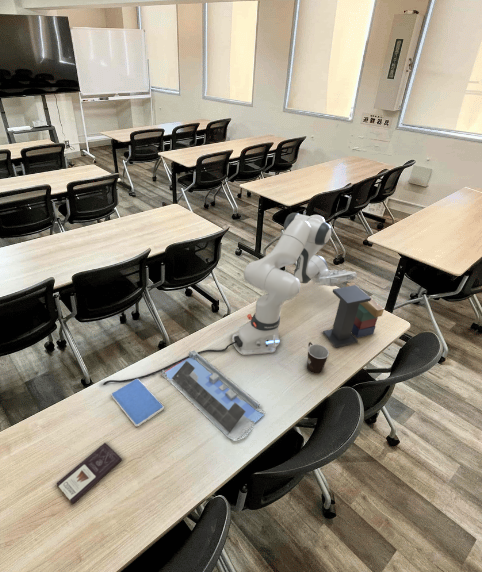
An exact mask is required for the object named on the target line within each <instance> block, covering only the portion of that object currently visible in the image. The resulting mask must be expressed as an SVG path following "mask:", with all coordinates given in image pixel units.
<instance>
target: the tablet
mask: <svg viewBox="0 0 482 572" xmlns="http://www.w3.org/2000/svg"><path fill="white" fill-rule="evenodd" d="M110 397H111V398H112V400H113V401H115V403H116V404H117V405H118V407H119V408H120V409H121V410H122V411H123V413H124V414H125V415H126V417H127V418H128V419H129V420H130V422H131V423H132V424H133V425H134V426H135V427H136V428H137V427H140V426H141V425H144V424H145V423H146V422H148V421H149V420H151V419H153V417H155V416H157V415H158V414H159V413H161V411H163V410H164V409H165V406H164V405H163V403H161V402H160V400H159V399H158V398H157V397H156V396H155V395H154V394H153V393H152V392H151V390H150V389H149V388H148V387H147V385H145V384H144V383H143V382H142V381H141V380H140V379H135V380H132V381H129V382H128V383H126V384H125V385H123V386H122V387H120V388H118V389H116V390H114V391H113V392H111V394H110Z"/></svg>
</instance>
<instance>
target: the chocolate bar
mask: <svg viewBox="0 0 482 572" xmlns="http://www.w3.org/2000/svg"><path fill="white" fill-rule="evenodd" d="M122 461H123V458H121V456H120V455H118V454H117V452H116V451H114V450H113V449H112V447H111V446H110V445H108V444H107V443H106V442H104V443H103V444H102V445H100V446H99V447H98V448H97V449H96V450H94V451H93V452H92V453H91V454H90V455H88V456H87V457H86V458H85V459H84V460H83V461H81V462H80V463H78V465H76V466H75V467H74V468H73V469H71V470H70V471H69V472H68V473H67V474H66V475H65V476H63V477H61V479H59V480H58V481H57V482H56V486H57V487H58V488H59V489H60V490H61V493H63V494H64V495H65V497H66V498H67V499H68V501H70V503H71V504H72V505H75V503H77V502H78V501H79V500H80V499H81V498H82V497H83V496H84V495H85V494H86V493H88V492H89V491H90V490H91V489H92V488H93V487H95V485H96V484H98V483H99V482H100V481H101V480H102V479H103V478H104V477H105V476H106V475H107V474H108V473H110V472H111V471H112V470H114V468H116V467H117V466H118V465H119V464H120V463H121V462H122Z"/></svg>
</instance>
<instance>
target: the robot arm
mask: <svg viewBox="0 0 482 572" xmlns="http://www.w3.org/2000/svg"><path fill="white" fill-rule="evenodd" d="M283 229H284V231H283V233H282V234H281V236H280V237H279V239H278V241H277V242H276V244H275V245H274V247H273V249H271V251H270V252H269V253H268V254H266V255H265V256H264V257H262V258H260V259H257V260H253V261H251V262H249V263H247V265H245V268H244V270H243V279H244V281H245V282H246V283H248V285H250V286H252V287H254V288H255V289H258V290H261V291H263V292H265V293H267V294H263V295H261V296H259V297H258V298H257V299H256V302H255V309H254V310H255V311H254V314H253V315H252V314H251V313H248V314H247V315H246V318H247V319H248V320H249V321H247V322H246V323H245V324H243V325H242V326H240V327H239V328H238V330H237V332H236V333H234V334H232V336H231V343H229V344H228V345H227V346H225V348H223V349H205V350H200V351H196V352H197V353H198V354H199V355H201V354H202V353H207V352H215V353H221V352H224V351H227V350H228V348H229V347H231V346H233V347H234V349H235V350H236V352H238V353H239V354H241V355H242V356H252V355H261V354H262V355H264V354H274V353H275V352H276V348H277V347H278V346H279V345H280V342H281V338H280V335H279V333H280V332H279V327H280V323H281V311H282V306H283V304H284V303H286V302H287V301H291V300H293V299H295V298H296V297H298V295H299V293H300V290H301V284H308V283H309V282H311V283H313V284H314V285H316V286H322V287H323V286H324V287H336V286H337V285H340V284H343V283H346V282H348V281H354V280H357V279H358V274H357V272H356V271H351V270H350V271H349V270H346V269H339V270H338V269H337V270H336V269H329V266H328V263H327V260H326V259H325V258H324V257H323V256H321V255H319V254H317V253H318V252H319V251H320V250H322V249H323V247H324V246H325V245H326V244H327V243H328V241H329V240H330V239H331V237H332V232H333V231H332V226H331V224H329V223H327V222H326V220H325V218H324V217H323V216H322V215H319V214H313V215H310V216H309V215H307V214H306V215H305V214H301V213H299V212H292V213H290V214H288V215H287V216H286V217H285V220H284V222H283ZM294 264H296V266H295V269H294V270H293V274H292V273H290V272H287V271H285V270H282V269H281V268H283V267H289V266H293V265H294ZM187 358H189V355H187V356H184V357H183V358H181V359H179V360H177V361H174V362H173V363H170V364H168V365H167V366H165V367H162V368H160V369H157V370H155V371H152V372H150V373H147V374H145V375H141V376H136V377H131V378H128V379H127V378H126V379H122V380H120V379H119V380H117V379H110V380H106V381H105V382H103V384H102V385H103V386H105V385H107V384H109V383H126V382H132V381H133V380H135V379H139V380H140V379H144V378H146V377H150V376H152V375H155V374H157V373H159V372H160V373H161V372H162V370H164V371H165V370H166V369H169V368H171V367H173V366H175V365H176V364H178V363H180V362H181V361H183V360H185V359H187Z"/></svg>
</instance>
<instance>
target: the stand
mask: <svg viewBox="0 0 482 572" xmlns="http://www.w3.org/2000/svg"><path fill="white" fill-rule="evenodd" d="M356 285H357V284H356ZM356 285H353V286H348V287H346V286H344V287H338V288H337V287H336V288H332V293H333V294H334V295H335V296H336V298H338V299H339V302H338V305H337V309H336V313H335V318H334V321H333V325H332V328H331V329H326V330H323V331H322V334H323V336H324V337H325V338H326V339H327V340H328V341H329V342H330V344H331V345H332V346H333V347H334V348H335V349H339V348H342V347H347V346H351V345H355V344H358V343H359V340H358V338H356V337H355V336H354V335H353V334H352V333H351V332H352V328H353V325H354V321H355V318H356V314H357V311H358V307H359V304H360V303H364V302H368V301H370V300H371V298H372V297H371V296H370V295H369V294H367V293H366V292H365V291H364V290H363V289H361V287H359V286H358V285H357V286H358V287H357V286H356ZM362 290H363V291H364V292H365V293H364V292H363V291H362ZM369 296H370V297H371V298H370V297H369Z"/></svg>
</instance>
